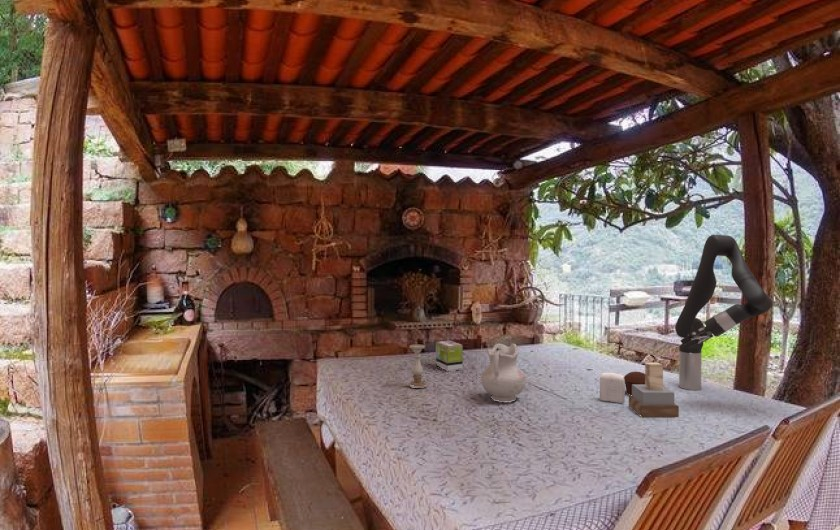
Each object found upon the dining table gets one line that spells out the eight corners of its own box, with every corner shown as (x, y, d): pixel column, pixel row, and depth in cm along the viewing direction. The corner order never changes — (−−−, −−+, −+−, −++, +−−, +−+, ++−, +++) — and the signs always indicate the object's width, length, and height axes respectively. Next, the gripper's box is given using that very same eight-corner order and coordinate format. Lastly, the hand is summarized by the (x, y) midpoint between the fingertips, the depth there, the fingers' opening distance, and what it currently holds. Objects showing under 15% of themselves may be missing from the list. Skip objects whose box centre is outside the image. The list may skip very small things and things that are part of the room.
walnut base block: (628, 407, 209) (628, 395, 209) (662, 407, 208) (662, 395, 208) (642, 418, 195) (642, 405, 195) (678, 418, 194) (678, 405, 194)
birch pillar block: (645, 386, 204) (645, 362, 204) (657, 386, 204) (657, 362, 203) (650, 390, 199) (650, 365, 199) (662, 390, 199) (662, 365, 198)
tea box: (435, 367, 286) (434, 341, 286) (450, 365, 290) (450, 339, 290) (447, 372, 272) (447, 345, 272) (463, 370, 277) (463, 344, 276)
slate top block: (631, 396, 208) (631, 384, 208) (661, 396, 207) (661, 384, 207) (643, 405, 196) (643, 392, 196) (674, 405, 195) (674, 392, 195)
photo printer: (625, 401, 216) (625, 373, 215) (624, 404, 212) (624, 375, 212) (600, 398, 221) (600, 370, 221) (598, 400, 217) (598, 372, 217)
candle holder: (419, 390, 237) (418, 348, 237) (404, 387, 242) (404, 346, 242) (430, 386, 244) (429, 345, 244) (415, 383, 249) (415, 343, 249)
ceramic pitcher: (523, 410, 208) (528, 351, 207) (477, 404, 212) (481, 346, 211) (523, 396, 229) (527, 343, 228) (481, 391, 233) (485, 338, 232)
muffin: (622, 395, 225) (622, 373, 224) (624, 389, 234) (624, 368, 234) (651, 399, 219) (650, 376, 219) (652, 392, 229) (652, 371, 229)
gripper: (719, 319, 212) (684, 339, 219) (710, 312, 202) (674, 334, 209) (730, 334, 207) (695, 354, 214) (722, 327, 198) (685, 349, 205)
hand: (684, 344), depth 212 cm, fingers open, 8 cm apart
